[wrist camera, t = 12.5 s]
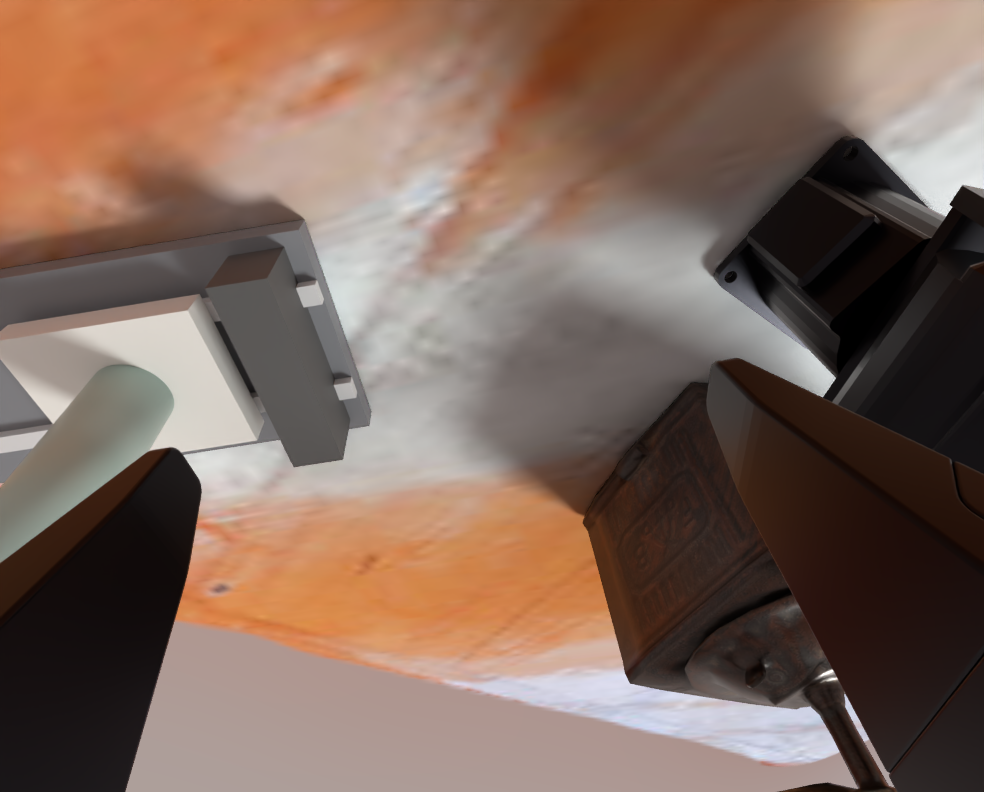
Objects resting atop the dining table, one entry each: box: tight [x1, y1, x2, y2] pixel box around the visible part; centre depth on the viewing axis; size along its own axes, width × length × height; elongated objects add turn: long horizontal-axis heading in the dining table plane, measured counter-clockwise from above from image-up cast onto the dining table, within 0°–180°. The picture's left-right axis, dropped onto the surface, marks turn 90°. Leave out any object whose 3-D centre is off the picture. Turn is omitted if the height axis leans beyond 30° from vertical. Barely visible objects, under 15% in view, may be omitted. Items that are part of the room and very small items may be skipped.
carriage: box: [0, 294, 264, 563], centre depth 18 cm, size 7×6×10 cm
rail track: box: [0, 219, 371, 483], centre depth 22 cm, size 19×9×4 cm, turn 98°
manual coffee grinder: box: [583, 383, 897, 792], centre depth 24 cm, size 16×11×18 cm
